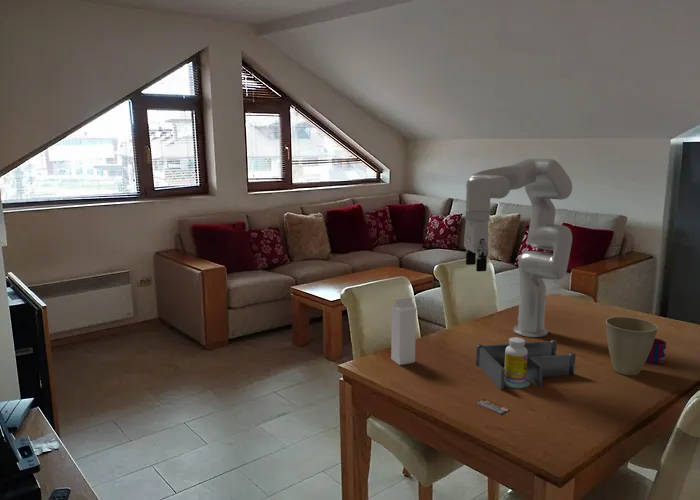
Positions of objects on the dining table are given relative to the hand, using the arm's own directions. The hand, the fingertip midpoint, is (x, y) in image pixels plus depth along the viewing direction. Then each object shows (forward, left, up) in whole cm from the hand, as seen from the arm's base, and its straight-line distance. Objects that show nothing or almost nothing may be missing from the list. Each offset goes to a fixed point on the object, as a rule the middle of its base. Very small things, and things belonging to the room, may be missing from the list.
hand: (475, 267), depth 190 cm
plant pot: (+16, +46, -32) cm, 59 cm away
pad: (+19, +7, -32) cm, 38 cm away
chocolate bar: (+33, -6, -33) cm, 47 cm away
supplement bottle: (+18, +7, -32) cm, 37 cm away
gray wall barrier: (+13, +14, -32) cm, 37 cm away
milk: (-4, -23, -32) cm, 40 cm away
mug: (+8, +59, -32) cm, 68 cm away
